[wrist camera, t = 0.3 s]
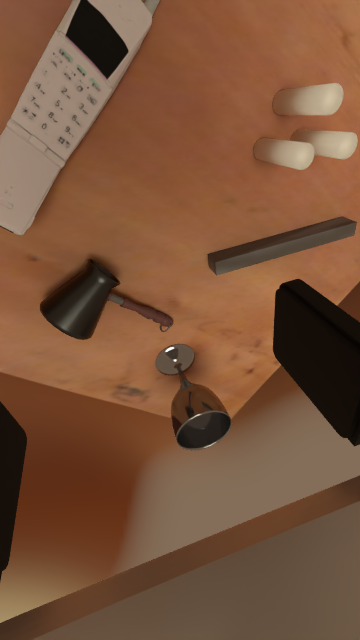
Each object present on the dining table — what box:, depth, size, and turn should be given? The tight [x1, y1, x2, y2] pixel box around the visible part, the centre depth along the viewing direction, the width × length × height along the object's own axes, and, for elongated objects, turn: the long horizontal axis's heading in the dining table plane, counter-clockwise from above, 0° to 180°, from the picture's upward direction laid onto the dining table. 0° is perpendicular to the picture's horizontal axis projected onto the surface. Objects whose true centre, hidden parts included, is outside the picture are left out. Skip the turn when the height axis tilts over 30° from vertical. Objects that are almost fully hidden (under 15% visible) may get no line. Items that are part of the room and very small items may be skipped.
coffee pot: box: [40, 259, 173, 340], centre depth 41 cm, size 8×18×8 cm
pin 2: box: [290, 129, 358, 159], centre depth 34 cm, size 2×2×8 cm
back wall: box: [208, 217, 357, 275], centre depth 43 cm, size 2×22×3 cm, turn 100°
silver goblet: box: [156, 344, 232, 450], centre depth 46 cm, size 8×8×15 cm
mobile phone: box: [0, 0, 160, 235], centre depth 27 cm, size 6×6×25 cm
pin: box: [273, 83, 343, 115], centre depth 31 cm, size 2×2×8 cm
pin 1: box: [253, 138, 315, 170], centre depth 33 cm, size 2×2×8 cm
